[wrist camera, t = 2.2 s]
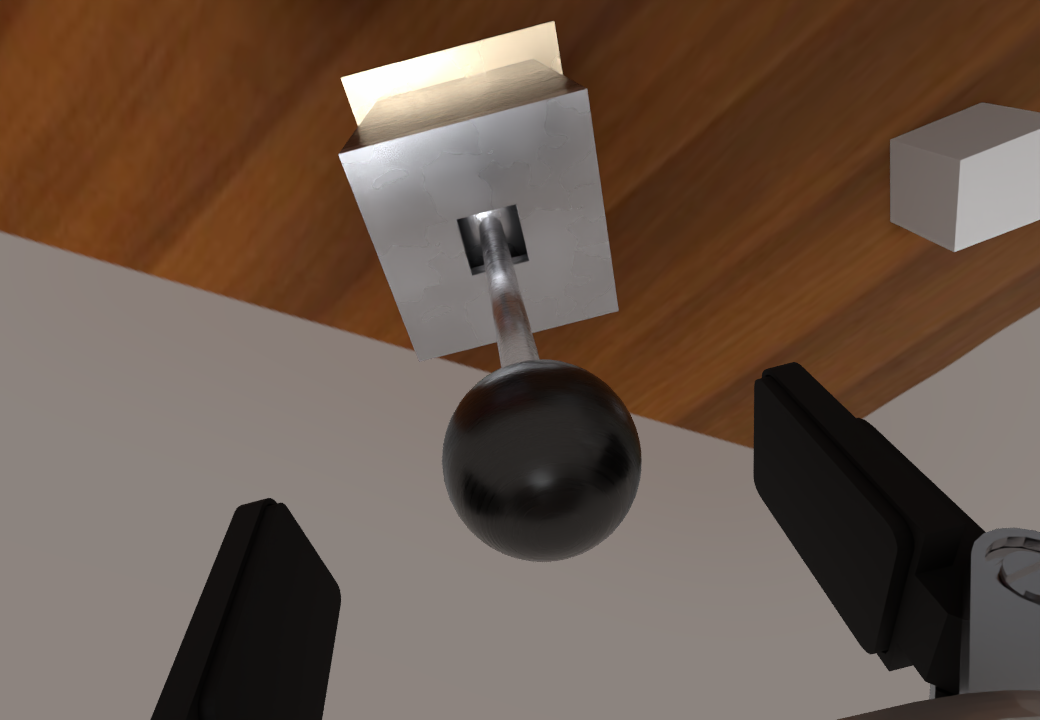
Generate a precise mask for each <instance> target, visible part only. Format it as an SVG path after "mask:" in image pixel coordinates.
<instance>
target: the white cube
mask: <svg viewBox="0 0 1040 720" xmlns="http://www.w3.org/2000/svg"><path fill="white" fill-rule="evenodd" d="M1037 220H1040V113H1039V112H1034V111H1028V110H1022V109H1017V108H1011V107H1005V106H1000V105H994V104H988V103H983V102H982V103H979V104H977V105H974V106H972V107H969V108H967V109H965V110H962V111H960V112H957V113H955V114H952V115H950V116H947V117H945V118H942V119H940V120H937V121H935V122H932V123H930V124H927V125H925V126H923V127H920V128H918V129H915V130H913V131H910V132H908V133H905V134H903V135H900V136H898V137H895V138H893V139H890V222H892V223H894V224H896V225H899V226H901V227H903V228H905V229H907V230H909V231H911V232H913V233H915V234H917V235H919V236H922V237H924V238H926V239H928V240H930V241H932V242H934V243H936V244H938V245H940V246H943V247H945V248H947V249H949V250H951V251H953V252H956V251H958V250H961V249H964V248H966V247H969V246H972V245H974V244H977V243H979V242H982V241H985V240H987V239H990V238H993V237H995V236H998V235H1001V234H1003V233H1006V232H1008V231H1011V230H1014V229H1016V228H1019V227H1022V226H1024V225H1027V224H1029V223H1032V222H1035V221H1037Z"/></svg>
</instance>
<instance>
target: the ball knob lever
mask: <svg viewBox="0 0 1040 720" xmlns="http://www.w3.org/2000/svg"><path fill="white" fill-rule="evenodd" d="M457 222H458V225H459V228H460V232H461V235H462V239H463V242H464V245H465V249H466V252H467V256H468V259H469V262H470V266H471V268H474V267H477V266H481V265H485V271H486V277H487V283H488V289H489V295H490V301H491V307H492V313H493V319H494V325H495V331H496V337H497V343H498V349H499V355H500V361H501V369H498V370H496V371H494V372H493V373H491V374H489V375H487V376H486V377H485V378H483V379H482V380H481V381H479V382H478V383H477V384H476V385H475V386H474V387H473V388H472V389H471V390H470V391H469V392H468V393H467V394H466V395H465V397H464V398H463V399H462V401H461V402H460V403H459V405H458V407H457V409H456V410H455V412H454V414H453V416H452V418H451V420H450V423H449V425H448V428H447V431H446V435H445V439H444V444H443V456H442V465H443V475H444V482H445V485H446V488H447V491H448V495H449V498H450V500H451V502H452V504H453V506H454V508H455V510H456V512H457V514H458V516H459V517H460V518H461V520H462V521H463V522H464V523H465V525H466V526H467V527H468V528H469V530H470V531H471V532H472V533H474V535H476V536H477V537H478V538H479V539H480V540H482V541H483V542H484V543H485V544H487V545H488V546H490V547H492V548H493V549H495V550H497V551H499V552H501V553H503V554H505V555H508V556H511V557H514V558H518V559H522V560H528V561H537V562H551V561H558V560H564V559H568V558H571V557H574V556H577V555H580V554H582V553H584V552H586V551H588V550H590V549H592V548H593V547H595V546H596V545H598V544H599V543H601V542H602V541H603V540H604V539H606V538H607V537H608V536H609V535H610V534H612V533H613V531H614V530H615V529H616V528H617V527H618V526H619V524H620V523H621V522H622V521H623V519H624V518H625V516H626V515H627V513H628V511H629V509H630V507H631V505H632V503H633V500H634V498H635V496H636V493H637V489H638V485H639V481H640V475H641V448H640V441H639V437H638V433H637V430H636V427H635V424H634V422H633V420H632V417H631V415H630V413H629V411H628V410H627V408H626V406H625V405H624V403H623V402H622V400H621V399H620V398H619V397H618V396H617V395H616V393H615V392H614V391H613V390H612V389H611V388H610V387H609V386H608V385H607V384H606V383H604V382H603V381H602V380H601V379H599V378H598V377H596V376H595V375H593V374H592V373H590V372H588V371H587V370H585V369H582V368H580V367H577V366H575V365H572V364H568V363H565V362H561V361H555V360H540V359H539V356H538V352H537V349H536V345H535V341H534V338H533V334H532V331H531V327H530V323H529V320H528V316H527V313H526V309H525V305H524V302H523V298H522V294H521V291H520V287H519V284H518V280H517V276H516V273H515V269H514V266H513V262H512V257H516V256H520V255H524V254H527V252H526V248H525V243H524V239H523V235H522V230H521V226H520V222H519V217H518V213H517V209H516V204H514V205H510V206H506V207H503V208H499V209H495V210H491V211H487V212H483V213H479V214H476V215H472V216H468V217H464V218H460V219H457Z"/></svg>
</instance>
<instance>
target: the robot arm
mask: <svg viewBox="0 0 1040 720" xmlns="http://www.w3.org/2000/svg"><path fill="white" fill-rule="evenodd" d="M754 482H755V486H756V489H757V491H758V493H759V495H760V497H761V498H762V500H763V501H764V503H765V504H766V506H767V507H768V508H769V510H770V512H771V513H772V515H773V516H774V518H775V519H776V521H777V522H778V523H779V525H780V526H781V528H782V529H783V531H784V532H785V534H786V535H787V537H788V538H789V540H790V541H791V543H792V544H793V546H794V547H795V549H796V550H797V552H798V553H799V555H800V556H801V558H802V559H803V561H804V562H805V564H806V565H807V566H808V568H809V569H810V571H811V572H812V574H813V575H814V577H815V579H816V580H817V581H818V583H819V584H820V586H821V587H822V589H823V590H824V592H825V593H826V595H827V596H828V598H829V599H830V601H831V602H832V604H833V605H834V607H835V608H836V610H837V611H838V613H839V614H840V616H841V617H842V619H843V620H844V622H845V623H846V625H847V626H848V628H849V629H850V631H851V632H852V633H853V635H854V636H855V638H856V639H857V641H858V642H859V644H860V645H861V646H862V648H863V649H864V650H865V651H866V652H867V653H869V654H875V653H877V655H878V656H879V657H880V659H881V660H882V662H883V663H884V665H885V666H886V668H887V669H888V670H889V671H893V670H897V669H900V668H904V667H908V666H912V665H914V667H915V668H916V670H917V671H918V672H919V674H920V675H921V676H922V678H923V679H924V680H925V681H926V682H928V683H930V695H929V700H924V701H919V702H913V703H908V704H904V705H900V706H895V707H891V708H886V709H882V710H878V711H873V712H869V713H864V714H860V715H855V716H851V717H847V718H842V719H838V720H1040V532H1037V531H1034V530H1027V529H1020V528H1002V529H995V530H992V531H989V532H987V533H986V532H985V531H984V530H983V529H982V528H981V527H979V526H978V525H977V524H976V523H975V522H974V521H973V520H972V519H971V518H970V517H969V516H968V515H967V514H966V513H965V512H963V510H961V509H960V508H959V507H958V506H957V505H956V504H955V503H954V502H953V501H952V500H951V499H950V498H949V497H948V496H947V495H946V494H944V493H943V492H942V491H941V490H940V489H939V488H938V487H937V486H936V485H935V484H934V483H933V482H932V481H931V480H930V479H929V478H927V477H926V476H925V475H924V474H923V473H922V472H921V471H920V470H919V469H918V468H917V467H916V466H915V465H914V464H912V462H910V461H909V460H908V459H907V458H906V457H905V456H904V455H903V454H902V453H901V452H900V451H899V450H898V449H897V448H896V447H894V446H893V445H892V444H891V443H890V442H889V441H888V440H887V439H886V438H885V437H884V436H883V435H882V434H881V433H880V432H879V431H877V430H876V428H874V427H873V426H872V425H871V424H870V423H868V422H867V421H865V420H863V419H860V418H855V417H854V416H853V415H852V414H851V413H850V412H849V411H848V410H847V409H846V408H845V407H844V406H843V405H842V404H841V403H839V402H838V401H837V400H836V399H835V398H834V397H833V396H832V395H831V394H830V393H829V392H828V391H827V390H826V389H825V388H824V387H823V386H822V385H821V384H820V383H819V382H818V381H817V380H816V379H815V378H813V377H812V376H811V375H810V374H809V373H808V372H807V371H806V370H805V369H804V368H803V367H802V366H801V365H800V364H798V363H796V362H792V363H788V364H784V365H780V366H777V367H773V368H769V369H766V370H764V371H763V373H762V378H761V379H757V380H756V381H755V386H754ZM340 605H341V594H340V589H339V586H338V584H337V583H336V581H335V579H334V578H333V576H332V575H331V573H330V572H329V570H328V569H327V567H326V566H325V564H324V563H323V561H322V560H321V558H320V557H319V555H318V554H317V552H316V551H315V549H314V547H313V546H312V544H311V543H310V541H309V540H308V538H307V537H306V535H305V534H304V532H303V531H302V529H301V528H300V526H299V525H298V523H297V522H296V520H295V518H294V517H293V515H292V514H291V512H290V511H289V509H288V508H287V506H286V505H285V504H283V503H278V504H277V503H276V501H275V500H273V499H271V498H267V499H263V500H259V501H256V502H252V503H248V504H244V505H241V506H239V507H238V508H237V509H236V511H235V513H234V515H233V518H232V520H231V523H230V525H229V528H228V530H227V532H226V535H225V537H224V540H223V542H222V545H221V547H220V550H219V552H218V555H217V557H216V560H215V562H214V564H213V567H212V569H211V572H210V574H209V577H208V579H207V582H206V585H205V587H204V589H203V592H202V594H201V597H200V599H199V602H198V604H197V606H196V609H195V611H194V614H193V617H192V619H191V621H190V624H189V626H188V629H187V631H186V634H185V636H184V639H183V641H182V643H181V646H180V648H179V651H178V653H177V656H176V658H175V661H174V663H173V666H172V668H171V671H170V673H169V676H168V678H167V680H166V683H165V685H164V688H163V690H162V693H161V695H160V698H159V700H158V703H157V705H156V708H155V710H154V713H153V715H152V718H151V720H322V716H323V710H324V704H325V698H326V692H327V685H328V679H329V673H330V666H331V661H332V654H333V648H334V642H335V636H336V630H337V624H338V618H339V611H340Z"/></svg>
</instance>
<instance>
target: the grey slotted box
mask: <svg viewBox="0 0 1040 720" xmlns="http://www.w3.org/2000/svg"><path fill="white" fill-rule="evenodd" d="M341 80H342V83H343V86H344V89H345V91H346V94H347V97H348V100H349V102H350V105H351V108H352V111H353V113H354V116H355V119H356V122H357V125H358V127H357V129H356V130H355V132H354V133H353V135H352V136H351V137H350V139H349V140H348V142H347V143H346V144H345V146H344V147H343V149H342V150H341V151H340V153H339V154H338V155H339V157H340V160H341V162H342V165H343V167H344V170H345V173H346V175H347V178H348V180H349V183H350V185H351V188H352V191H353V193H354V196H355V198H356V201H357V203H358V206H359V208H360V211H361V214H362V216H363V219H364V221H365V224H366V226H367V229H368V232H369V234H370V237H371V239H372V242H373V244H374V247H375V250H376V252H377V255H378V257H379V260H380V262H381V265H382V268H383V270H384V273H385V275H386V278H387V280H388V283H389V286H390V288H391V291H392V293H393V296H394V298H395V301H396V304H397V306H398V309H399V311H400V314H401V316H402V319H403V322H404V324H405V327H406V329H407V332H408V334H409V337H410V339H411V342H412V345H413V347H414V350H415V352H416V355H417V357H418V360H419V361H424V360H428V359H432V358H436V357H440V356H444V355H448V354H452V353H455V352H459V351H463V350H467V349H471V348H475V347H479V346H483V345H487V344H491V343H495V342H497V337H496V331H495V325H494V319H493V313H492V307H491V301H490V295H489V289H488V283H487V277H486V271H485V265H481V266H477V267H474V268H471V266H470V262H469V259H468V256H467V252H466V249H465V245H464V242H463V239H462V235H461V232H460V228H459V225H458V222H457V219H460V218H464V217H468V216H472V215H476V214H479V213H483V212H487V211H491V210H495V209H499V208H503V207H506V206H510V205H514V204H516V209H517V213H518V217H519V222H520V226H521V230H522V235H523V239H524V243H525V248H526V252H527V254H524V255H520V256H516V257H512V262H513V266H514V269H515V273H516V276H517V280H518V284H519V287H520V291H521V294H522V298H523V302H524V305H525V309H526V313H527V316H528V320H529V323H530V327H531V331H532V333H534V332H538V331H542V330H546V329H550V328H554V327H557V326H561V325H565V324H569V323H573V322H577V321H581V320H585V319H589V318H593V317H597V316H601V315H604V314H608V313H612V312H616V311H619V310H618V303H617V296H616V289H615V282H614V275H613V268H612V261H611V254H610V247H609V240H608V232H607V225H606V218H605V211H604V204H603V197H602V190H601V183H600V176H599V169H598V162H597V155H596V148H595V141H594V134H593V127H592V119H591V112H590V105H589V98H588V91H587V88H585V87H583V86H581V85H579V84H578V83H576V82H574V81H572V80H570V79H569V78H567V77H565V76H563V72H562V66H561V60H560V54H559V48H558V41H557V35H556V29H555V23H554V21H550V22H546V23H542V24H538V25H535V26H531V27H527V28H523V29H520V30H516V31H512V32H508V33H505V34H501V35H497V36H493V37H489V38H486V39H482V40H478V41H474V42H471V43H467V44H463V45H459V46H456V47H452V48H448V49H444V50H441V51H437V52H433V53H429V54H426V55H422V56H418V57H414V58H411V59H407V60H403V61H399V62H396V63H392V64H388V65H384V66H381V67H377V68H373V69H369V70H366V71H362V72H358V73H354V74H351V75H347V76H343V77H341Z"/></svg>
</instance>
